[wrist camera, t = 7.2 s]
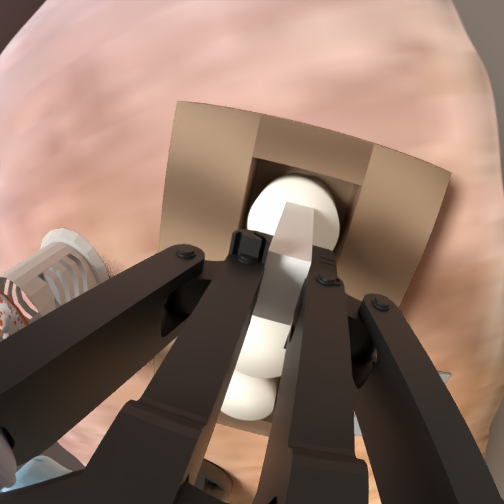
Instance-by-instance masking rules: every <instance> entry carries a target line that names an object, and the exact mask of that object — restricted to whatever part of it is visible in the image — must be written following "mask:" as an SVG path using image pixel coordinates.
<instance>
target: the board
mask: <svg viewBox="0 0 504 504" xmlns="http://www.w3.org/2000/svg"><path fill="white" fill-rule="evenodd" d="M288 173H304V174H308V175H311V176H313V177H315V178H317V179H318V180H320V181H321V182H322V183H324V184H325V185H326V186H327V188H328V189H329V190H330V192H331V194H332V196H333V198H334V201H335V204H336V209H337V214H338V219H339V237H338V241H337V243H336V246H335V247H334V249H333V251H332V252H333V253H334V255H335V257H336V267H337V277H339V278H340V279H341V280H342V281H343V283H344V287H345V293H347V294H348V295H350V296H352V297H353V298H356V299H358V300H360V301H362V300H363V298H364V296H365V295H366V294H369V293H375V294H381V295H384V296H386V297H388V299H390V300H391V301H393V302H394V303H395V305H396V306H397V307H398V308H399V306H400V304H401V302H402V300H403V298H404V295H405V293H406V291H407V289H408V287H409V285H410V282H411V280H412V278H413V276H414V273H415V271H416V269H417V266H418V264H419V262H420V259H421V257H422V255H423V252H424V250H425V247H426V245H427V242H428V240H429V237H430V234H431V232H432V229H433V227H434V224H435V221H436V218H437V216H438V213H439V210H440V207H441V204H442V201H443V198H444V195H445V192H446V189H447V186H448V183H449V180H450V177H451V172H449V171H447V170H444V169H442V168H440V167H438V166H436V165H433V164H431V163H429V162H426V161H423V160H421V159H418V158H416V157H413V156H410V155H407V154H405V153H402V152H399V151H396V150H393V149H390V148H387V147H385V146H382V145H378V144H375V143H372V142H369V141H366V140H363V139H360V138H356V137H353V136H350V135H346V134H343V133H339V132H336V131H332V130H329V129H325V128H321V127H317V126H314V125H310V124H306V123H302V122H297V121H293V120H289V119H285V118H280V117H276V116H271V115H266V114H261V113H256V112H251V111H246V110H241V109H235V108H230V107H224V106H217V105H211V104H204V103H197V102H185V101H177V104H176V110H175V116H174V122H173V128H172V135H171V141H170V148H169V155H168V163H167V170H166V178H165V186H164V195H163V204H162V214H161V225H160V236H159V249H158V253H159V252H161V251H163V250H165V249H166V248H168V247H170V246H173V245H177V244H187V245H188V244H190V245H192V246H196V247H198V248H200V249H202V250H203V252H204V253H205V260H210V261H224V260H225V259H226V257H227V256H228V254H229V248H230V243H231V238H232V233H233V232H234V231H235V230H240V229H248V228H247V222H248V216H249V212H250V210H251V207H252V205H253V204H254V202H255V201H256V199H257V198H258V196H259V195H260V194H261V192H262V191H263V190H264V188H265V187H266V186H267V185H268V184H269V183H270V182H271V181H272V180H274V179H275V178H277V177H279V176H281V175H284V174H288ZM177 337H178V336H177ZM177 337H176V338H177ZM176 338H175V339H174V340H173V341H172V342H171V343H169V344H168V345H167V346H166V347H165V348H164V349H163V350H161V351H160V352H159V353H158V354H157V355H156V356H155V357H154V375H155V373H156V371H157V370H158V368H159V366H160V365H161V363H162V361H163V360H164V358H165V357H166V355H167V353H168V352H169V350H170V348H171V347H172V345H173V343H174V342H175V340H176ZM278 377H279V382H278V387H277V393H276V398H275V403H274V408H273V411H272V412H271V414H270V415H268V416H267V417H265V418H263V419H260V420H253V421H248V420H240V419H237V418H233V417H231V416H229V415H227V414H225V413H224V412H222V411H221V410H220V413H219V416H218V419H217V422H216V423H219V424H222V425H226V426H229V427H233V428H236V429H240V430H244V431H247V432H251V433H255V434H259V435H263V436H268V437H269V435H270V431H271V426H272V421H273V416H274V411H275V406H276V401H277V395H278V390H279V385H280V380H281V376H278Z"/></svg>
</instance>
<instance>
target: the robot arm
mask: <svg viewBox="0 0 504 504" xmlns="http://www.w3.org/2000/svg"><path fill="white" fill-rule="evenodd" d="M313 220H314V209H313V208H310V207H306V206H302V205H298V204H295V203H291V202H287V201H286V203H285V206H284V209H283V211H282V214H281V217H280V220H279V222H278V225H277V228H276V231H275V233H274V235H270V234H266V233H263V232H259V231H255V230H248V229H240V230H235V231H234V232H233V233H232V238H231V243H230V248H229V254H228V256H227V257H226V259H225V260H224V261H210V260H205V253H204V252H203V250H202V249H200V248H198V247H196V246H192V245H190V244H188V245H187V244H177V245H173V246H170V247H168V248H166V249H165V250H163V251H161V252H159V253H157V254H155V255H153V256H151V257H149V258H147V259H145V260H144V261H142V262H140V263H138V264H136V265H134V266H132V267H130V268H129V269H127V270H125V271H123V272H121V273H119V274H117V275H116V276H114V277H112V278H110V279H108V280H106V281H105V282H103V283H101V284H99V285H97V286H96V287H94V288H92V289H90V290H88V291H86V292H85V293H83V294H81V295H79V296H78V297H76V298H74V299H72V300H70V301H69V302H67V303H65V304H63V305H62V306H60V307H58V308H56V309H55V310H53V311H51V312H49V313H48V314H46V315H44V316H43V317H41V318H39V319H37V320H36V321H34V322H32V323H31V324H29V325H27V326H26V327H24V328H22V329H20V330H19V331H17V332H15V333H14V334H12V335H10V336H9V337H7V338H5V339H4V340H2V341H1V342H0V490H1V489H2V490H1V491H0V504H229V503H225V501H226V500H227V499H228V497H229V495H230V492H231V488H232V480H231V478H230V477H229V476H228V475H227V474H226V473H225V472H224V471H223V470H221V469H220V468H218V467H217V466H215V465H213V464H212V463H210V462H208V461H206V460H204V459H203V458H204V455H205V453H206V450H207V447H208V444H209V441H210V439H211V436H212V433H213V430H214V427H215V425H216V422H217V419H218V416H219V413H220V410H221V407H222V405H223V402H224V399H225V396H226V393H227V390H228V387H229V384H230V381H231V378H232V376H233V373H234V370H235V367H236V364H237V361H238V358H239V355H240V352H241V349H242V346H243V343H244V340H245V337H246V334H247V331H248V328H249V325H250V322H251V318H252V315H253V316H256V317H260V318H264V319H267V320H271V321H275V322H278V323H282V324H286V325H290V326H291V328H290V331H289V334H288V337H287V339H286V342H285V345H284V349H286V352H285V358H284V363H283V369H282V374H281V380H280V385H279V390H278V395H277V401H276V406H275V411H274V416H273V421H272V426H271V431H270V435H269V440H268V445H267V450H266V454H265V459H264V463H263V468H262V472H261V477H260V481H259V485H258V489H257V493H256V496H255V499H254V501H253V503H252V504H368V497H369V483H368V468H367V464H366V462H365V461H364V460H362V459H357V458H356V456H355V445H354V411H355V414H356V417H357V421H358V424H359V427H360V430H361V434H362V437H363V440H364V444H365V447H366V450H367V454H368V457H369V460H370V464H371V467H372V471H373V474H374V478H375V481H376V485H377V488H378V492H379V496H380V499H381V503H382V504H504V501H503V499H502V498H501V497H500V494H499V492H498V490H497V487H496V485H495V483H494V480H493V478H492V476H491V474H490V472H489V469H488V467H487V465H486V463H485V461H484V458H483V456H482V454H481V452H480V450H479V448H478V446H477V444H476V442H475V440H474V438H473V436H472V434H471V432H470V430H469V428H468V426H467V424H466V422H465V420H464V418H463V416H462V415H461V413H460V411H459V409H458V407H457V405H456V403H455V402H454V400H453V398H452V396H451V394H450V392H449V391H448V389H447V387H446V385H445V384H444V382H443V380H442V378H441V377H440V375H439V373H438V371H437V370H436V368H435V366H434V365H433V363H432V361H431V360H430V358H429V356H428V355H427V353H426V351H425V350H424V348H423V346H422V345H421V343H420V342H419V340H418V338H417V337H416V335H415V334H414V332H413V330H412V329H411V327H410V326H409V324H408V323H407V321H406V319H405V318H404V316H403V315H402V313H401V312H400V310H399V309H398V307H397V306H396V305H395V303H394V302H393V301H391V300H390V299H388V297H386V296H384V295H381V294H375V293H369V294H366V295H365V296H364V298H363V300H362V301H360V300H358V299H356V298H353V297H352V296H350V295H348V294H347V293H345V287H344V283H343V281H342V280H341V279H340V278H339V277H337V267H336V257H335V255H334V253H333V252H332V251H331V250H329V249H326V248H322V247H318V246H315V245H312V242H313ZM292 320H293V322H292ZM291 323H292V325H291ZM177 336H178V337H177ZM176 337H177V338H176ZM175 338H176V340H175V342H174V343H173V345H172V347H171V348H170V350H169V352H168V353H167V355H166V357H165V358H164V360H163V361H162V363H161V365H160V366H159V368H158V370H157V371H156V373H155V375H154V377H153V378H152V380H151V382H150V383H149V385H148V387H147V388H146V390H145V392H144V393H143V395H142V396H141V398H140V399H139V400H138V401H134V400H130V401H128V402H127V403H126V404H125V405H124V406H123V408H122V409H121V410H120V412H119V413H118V415H117V417H116V418H115V420H114V421H113V423H112V425H111V426H110V428H109V430H108V431H107V433H106V434H105V436H104V438H103V439H102V441H101V443H100V444H99V446H98V448H97V449H96V451H95V453H94V454H93V456H92V457H91V459H90V461H89V462H88V464H87V466H86V467H85V469H82V470H78V471H74V472H72V471H71V470H67V469H66V468H64V467H63V466H61V465H60V464H58V463H57V462H55V461H54V460H52V459H51V458H49V457H47V456H38V455H40V454H41V453H42V452H43V451H45V450H46V449H48V448H49V447H50V446H52V445H53V444H54V443H55V442H56V441H58V440H59V439H60V438H61V437H62V436H63V435H65V434H66V433H67V432H68V431H69V430H70V429H72V428H73V427H74V426H75V425H76V424H77V423H79V422H80V421H81V420H82V419H83V418H84V417H86V416H87V415H88V414H89V413H90V412H91V411H93V410H94V409H95V408H96V407H97V406H98V405H100V404H101V403H102V402H103V401H104V400H105V399H107V398H108V397H109V396H110V395H111V394H112V393H113V392H115V391H116V390H117V389H118V388H119V387H120V386H121V385H123V384H124V383H125V382H126V381H127V380H128V379H130V378H131V377H132V376H133V375H134V374H135V373H136V372H138V371H139V370H140V369H141V368H142V367H143V366H144V365H146V364H147V363H148V362H149V361H150V360H151V359H152V358H154V357H155V356H156V355H157V354H158V353H159V352H160V351H161V350H163V349H164V348H165V347H166V346H167V345H168V344H169V343H171V342H172V341H173V340H174V339H175ZM376 353H377V359H376V357H375V355H376ZM36 456H37V457H36ZM34 457H35V458H34ZM29 460H30V461H29ZM27 461H29V462H28V463H26V464H25V465H24V466H23V467H22V468H21V469H20V470H19V471H17V472H16V466H18V465H21V464H23V463H25V462H27Z"/></svg>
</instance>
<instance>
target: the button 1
mask: <svg viewBox="0 0 504 504" xmlns="http://www.w3.org/2000/svg"><path fill="white" fill-rule="evenodd" d="M278 382H279V377H274V378H256V377H251V376H248V375H245V374H243V373H241V372H239V371H237V370H236V369H235V370H234V373H233V376H232V378H231V381H230V384H229V387H228V390H227V393H226V396H225V399H224V402H223V405H222V407H221V411H222V412H224V413H225V414H227V415H229V416H231V417H233V418H237V419H240V420H248V421H253V420H260V419H263V418H265V417H267V416H268V415H270V414H271V412H272V411H273V408H274V403H275V398H276V393H277V387H278Z"/></svg>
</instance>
